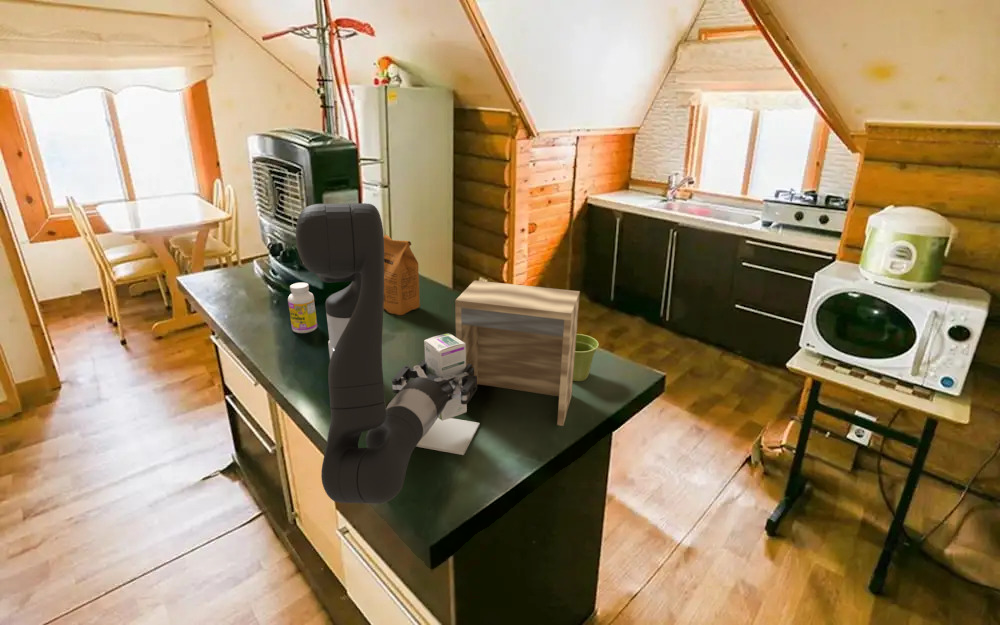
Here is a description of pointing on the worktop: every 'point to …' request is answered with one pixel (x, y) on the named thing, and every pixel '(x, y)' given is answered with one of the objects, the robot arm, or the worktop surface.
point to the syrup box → (446, 366)
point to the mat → (449, 435)
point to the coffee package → (400, 277)
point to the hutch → (520, 337)
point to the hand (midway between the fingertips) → (449, 365)
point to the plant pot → (583, 356)
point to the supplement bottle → (302, 308)
